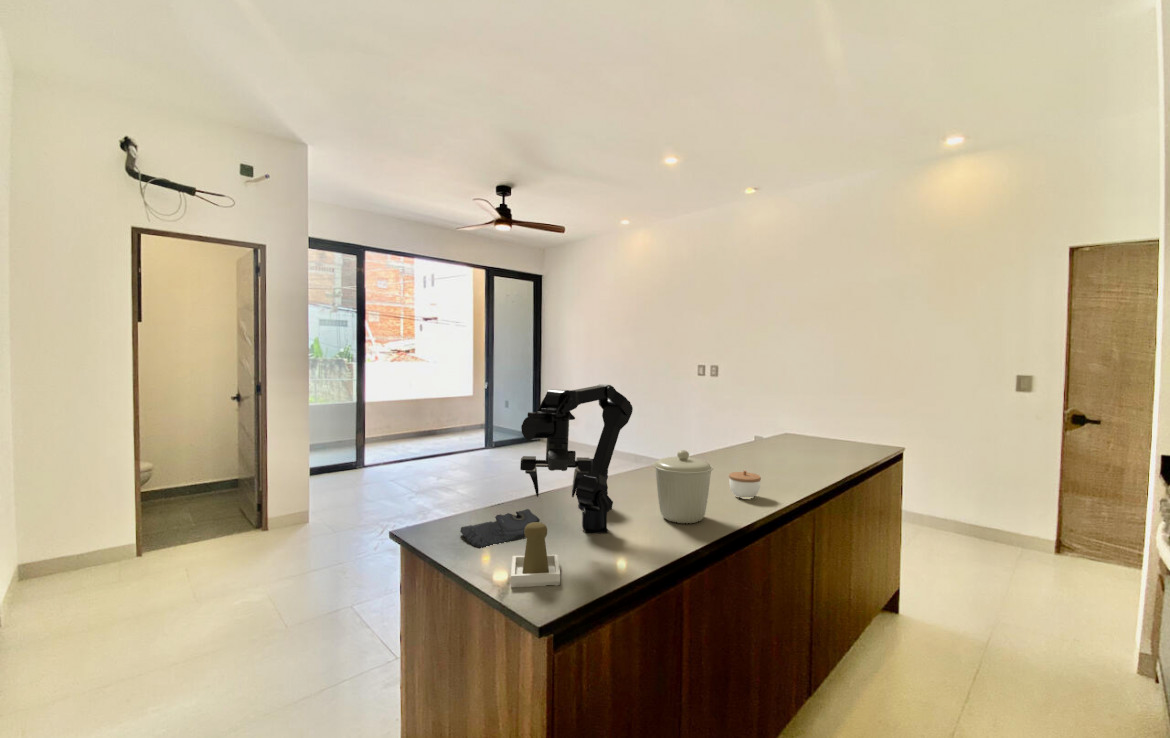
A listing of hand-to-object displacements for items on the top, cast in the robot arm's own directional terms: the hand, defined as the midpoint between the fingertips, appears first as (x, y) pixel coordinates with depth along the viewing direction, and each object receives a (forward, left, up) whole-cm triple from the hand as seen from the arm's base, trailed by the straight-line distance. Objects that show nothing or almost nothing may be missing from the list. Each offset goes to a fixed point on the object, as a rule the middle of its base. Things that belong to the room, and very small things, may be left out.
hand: (555, 496), depth 130 cm
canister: (-40, -18, -13) cm, 46 cm away
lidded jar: (-69, -38, -13) cm, 80 cm away
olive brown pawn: (+5, +17, -12) cm, 22 cm away
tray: (+5, +17, -13) cm, 22 cm away
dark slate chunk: (+14, -11, -14) cm, 23 cm away
